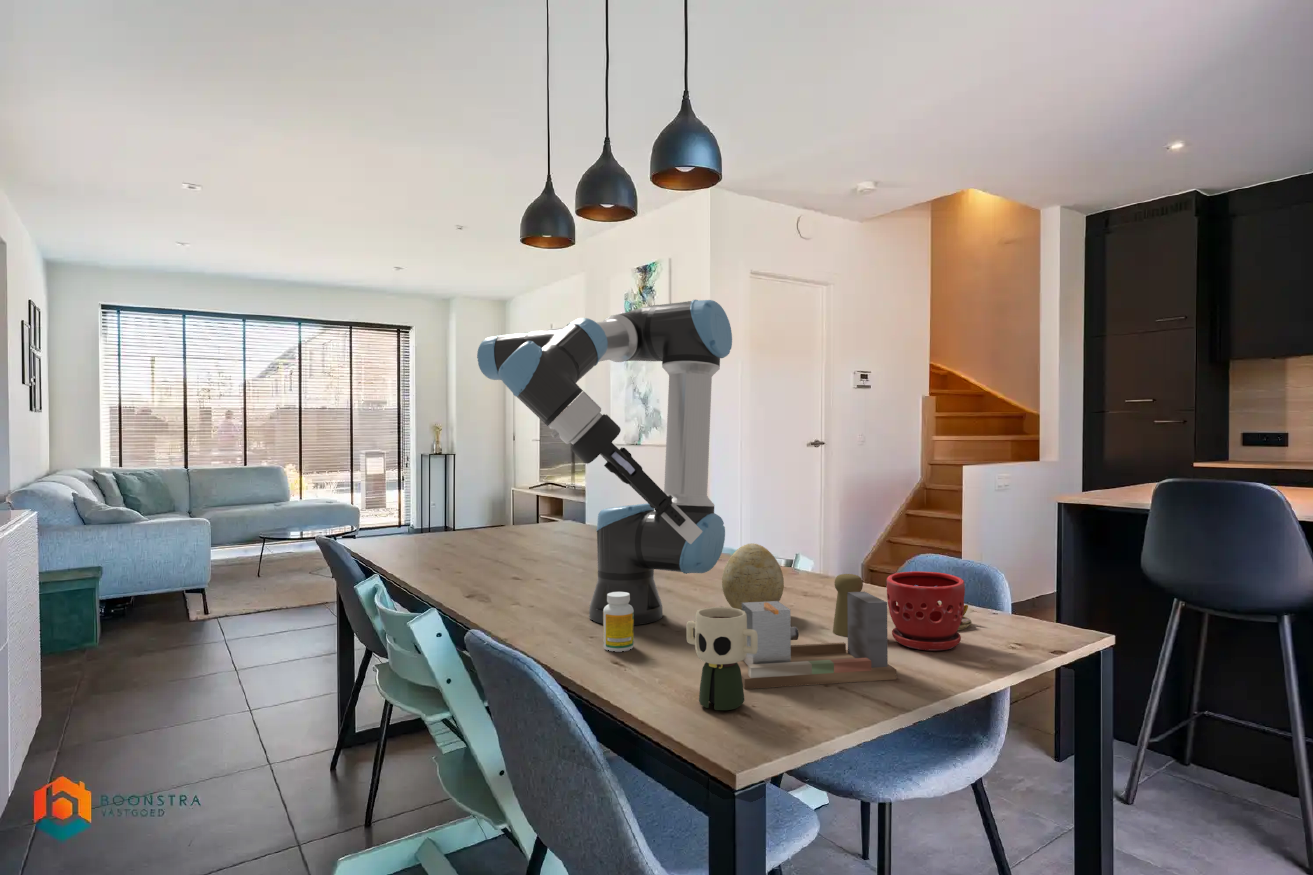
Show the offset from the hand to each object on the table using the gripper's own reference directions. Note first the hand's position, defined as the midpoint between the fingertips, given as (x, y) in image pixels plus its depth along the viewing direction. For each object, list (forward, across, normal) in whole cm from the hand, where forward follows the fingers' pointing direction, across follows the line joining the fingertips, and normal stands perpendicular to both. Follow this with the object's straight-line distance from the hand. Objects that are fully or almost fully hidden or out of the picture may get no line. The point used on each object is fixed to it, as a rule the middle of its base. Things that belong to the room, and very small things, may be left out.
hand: (695, 537), depth 114 cm
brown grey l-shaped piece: (+28, 0, -3) cm, 28 cm away
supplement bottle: (+9, -19, -23) cm, 31 cm away
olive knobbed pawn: (+40, -21, +8) cm, 46 cm away
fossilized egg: (+30, -37, -1) cm, 48 cm away
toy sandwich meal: (+54, -25, +22) cm, 63 cm away
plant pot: (+47, -11, +16) cm, 51 cm away
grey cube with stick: (+23, +1, -6) cm, 23 cm away
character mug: (+16, +11, -15) cm, 25 cm away
